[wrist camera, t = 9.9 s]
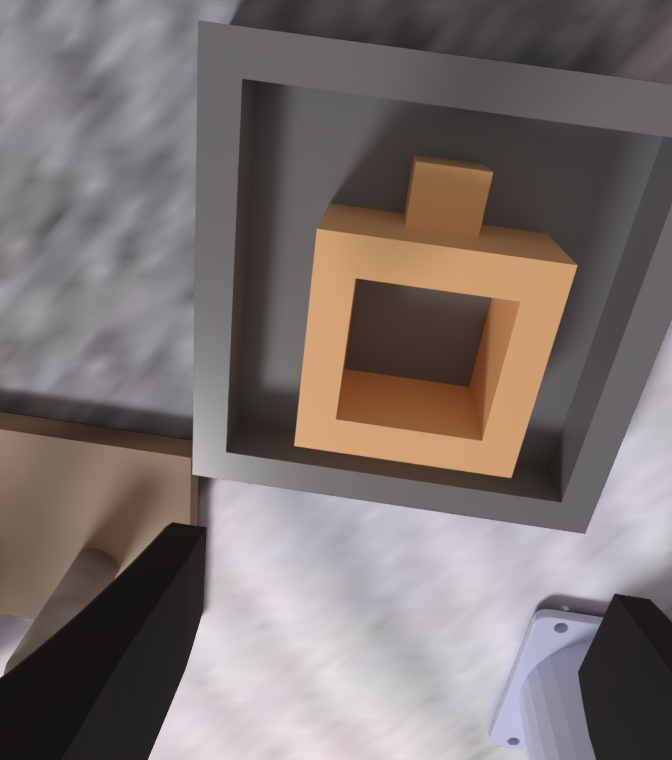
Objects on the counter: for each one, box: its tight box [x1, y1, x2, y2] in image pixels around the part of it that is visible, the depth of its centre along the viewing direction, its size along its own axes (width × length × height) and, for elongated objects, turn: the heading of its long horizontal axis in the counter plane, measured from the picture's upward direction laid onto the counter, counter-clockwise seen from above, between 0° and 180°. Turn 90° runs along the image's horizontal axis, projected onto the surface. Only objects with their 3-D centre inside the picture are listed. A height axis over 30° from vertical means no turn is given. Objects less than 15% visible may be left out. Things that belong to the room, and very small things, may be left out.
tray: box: [192, 21, 672, 534], centre depth 17 cm, size 12×12×2 cm
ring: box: [294, 154, 578, 478], centre depth 16 cm, size 7×6×3 cm
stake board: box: [0, 412, 199, 675], centre depth 20 cm, size 10×9×6 cm
